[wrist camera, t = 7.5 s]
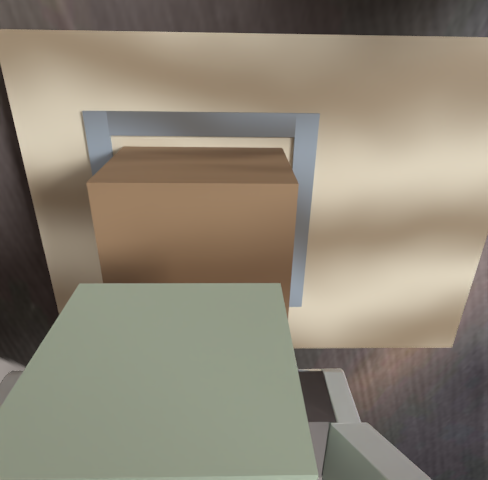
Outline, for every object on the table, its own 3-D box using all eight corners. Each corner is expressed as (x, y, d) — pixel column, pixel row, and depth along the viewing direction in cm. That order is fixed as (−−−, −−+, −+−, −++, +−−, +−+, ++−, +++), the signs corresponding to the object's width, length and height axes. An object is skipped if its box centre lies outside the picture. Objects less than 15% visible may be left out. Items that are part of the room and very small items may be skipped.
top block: (79, 283, 10) (-47, 480, 5) (280, 282, 10) (318, 474, 6) (106, 424, 12) (33, 646, 8) (272, 421, 12) (294, 640, 8)
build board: (5, 29, 16) (-10, 29, 15) (532, 38, 17) (552, 38, 16) (73, 337, 24) (66, 351, 23) (443, 335, 24) (453, 349, 23)
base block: (123, 146, 18) (86, 182, 13) (282, 147, 18) (298, 183, 13) (139, 281, 21) (114, 347, 16) (274, 281, 21) (286, 347, 17)
